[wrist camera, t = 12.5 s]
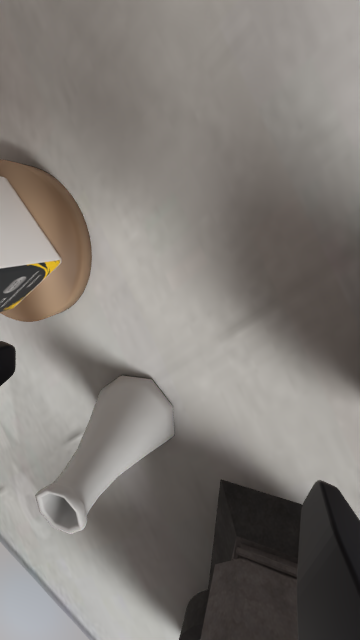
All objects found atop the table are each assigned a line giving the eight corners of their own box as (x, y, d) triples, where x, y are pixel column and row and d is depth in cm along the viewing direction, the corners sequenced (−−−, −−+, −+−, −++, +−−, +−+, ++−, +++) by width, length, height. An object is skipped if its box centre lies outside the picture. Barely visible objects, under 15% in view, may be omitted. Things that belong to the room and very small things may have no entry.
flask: (91, 380, 26) (-11, 463, 17) (158, 366, 23) (79, 456, 14) (121, 446, 27) (42, 556, 18) (188, 441, 24) (133, 567, 15)
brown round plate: (57, 138, 20) (35, 129, 18) (111, 300, 22) (96, 306, 21) (-45, 195, 24) (-71, 193, 23) (10, 324, 27) (-10, 331, 25)
